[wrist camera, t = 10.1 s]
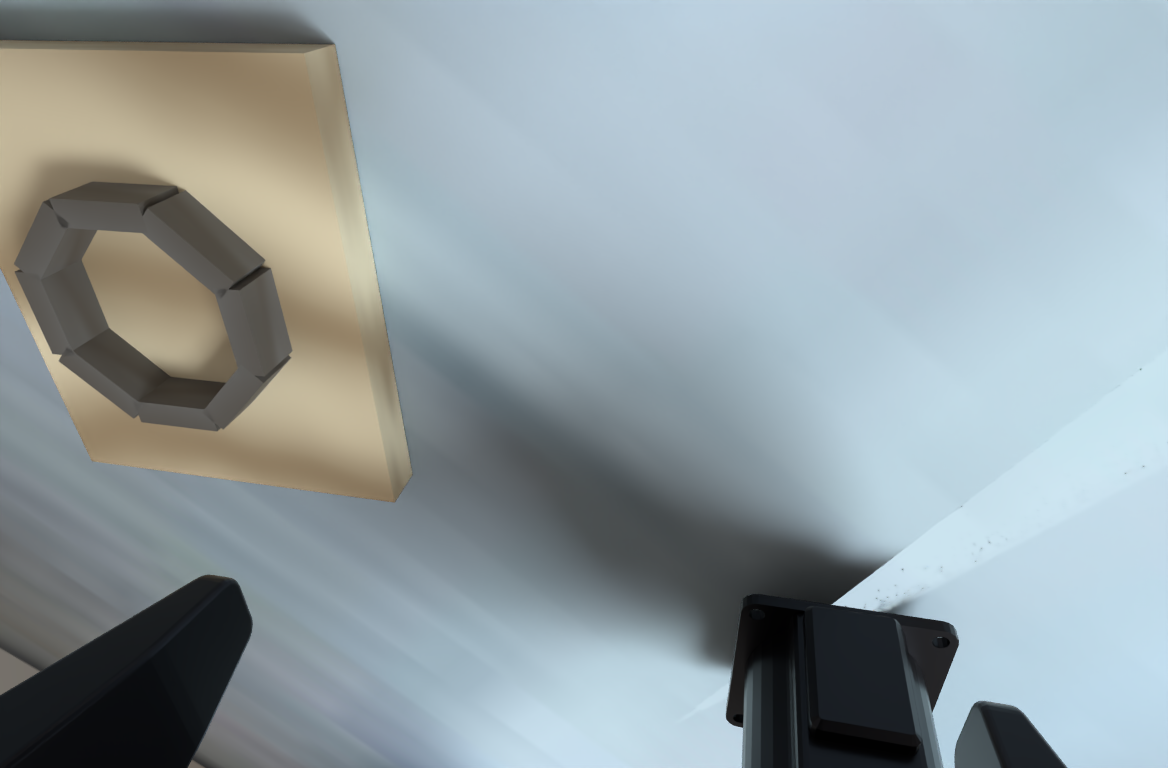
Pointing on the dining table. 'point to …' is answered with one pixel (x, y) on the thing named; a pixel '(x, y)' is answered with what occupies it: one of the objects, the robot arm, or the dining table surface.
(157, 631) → the robot arm
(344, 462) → the eye plate
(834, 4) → the dining table surface
